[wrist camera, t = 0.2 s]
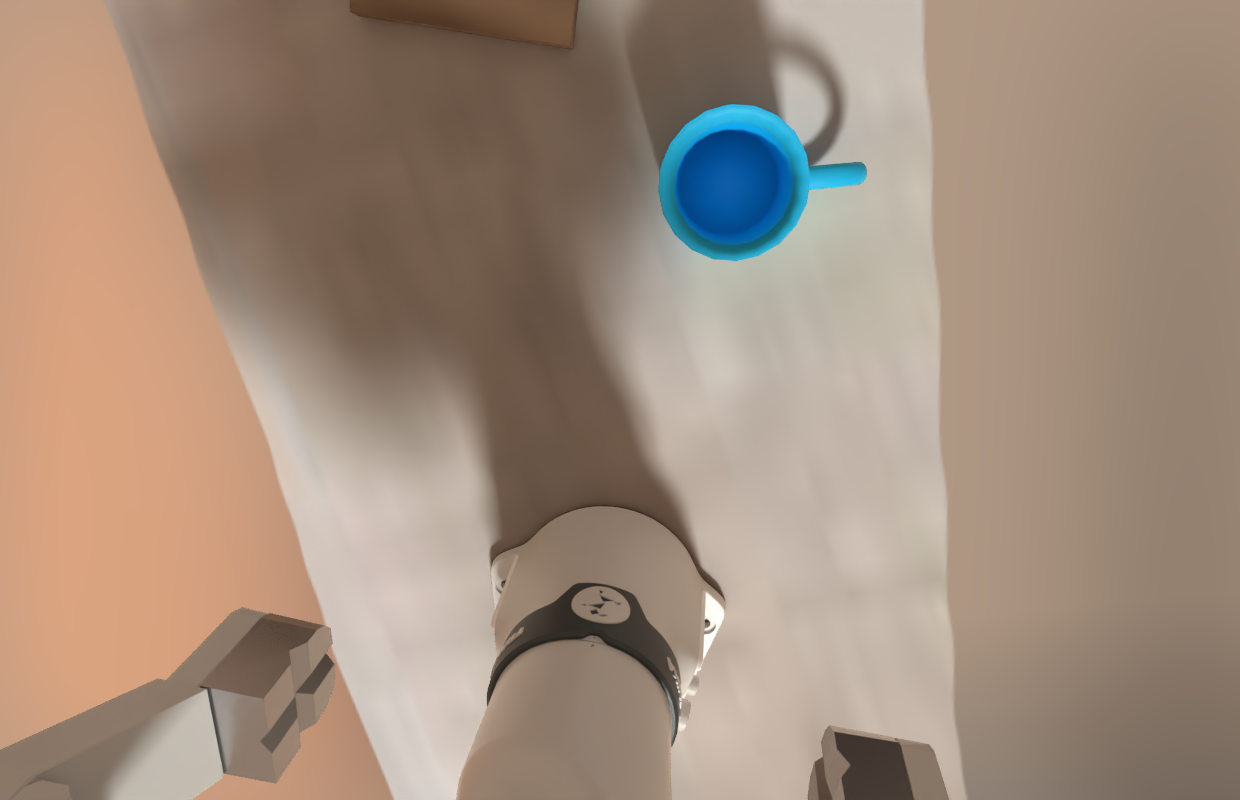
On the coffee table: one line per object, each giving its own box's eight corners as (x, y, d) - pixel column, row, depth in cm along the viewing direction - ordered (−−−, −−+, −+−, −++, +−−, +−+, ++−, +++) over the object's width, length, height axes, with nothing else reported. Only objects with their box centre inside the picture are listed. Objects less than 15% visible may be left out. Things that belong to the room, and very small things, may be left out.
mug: (668, 251, 47) (663, 266, 40) (660, 123, 45) (653, 111, 37) (851, 237, 46) (882, 250, 38) (852, 103, 43) (886, 88, 36)
